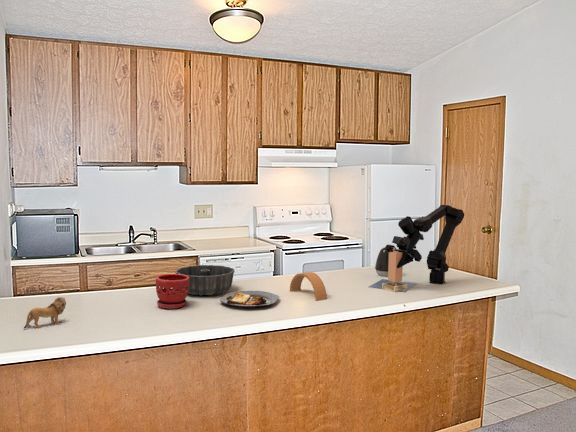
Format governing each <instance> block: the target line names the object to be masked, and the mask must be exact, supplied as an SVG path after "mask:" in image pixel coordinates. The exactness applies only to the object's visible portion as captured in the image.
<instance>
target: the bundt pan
mask: <svg viewBox="0 0 576 432" xmlns="http://www.w3.org/2000/svg"><path fill="white" fill-rule="evenodd" d="M174 272H175V273H174V274H181V275H186V276H188V277H189V290H188V294H187V295H192V296H198V295H199V296H201V297H202V296H203V295H205V296H211V295H214V296H217V295H219V294H223V293H225V292H227V291H229V290H230V289H231V288H232V285H233V281H234V280H233V279H234V274H235V273H236V272H235V268H233V267H230V266H225V265H220V264H219V265H217V264H216V265H214V264H207V265H206V264H195V265H188V266H182V267H179V268H177V269H175V271H174Z"/></svg>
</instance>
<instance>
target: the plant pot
mask: <svg viewBox="0 0 576 432" xmlns="http://www.w3.org/2000/svg"><path fill="white" fill-rule="evenodd" d="M188 290H189V277H188V276H186V275H181V274H176V273H168V274H159V275H156V277H155V291H156V295H157V298H158V300H157V301H156V304H157V305H158V306H159V307H160V308H162V309H169V310H170V309H172V310H173V309H178V308H181V307H184V306H186V304H187V302H188V301H187V299H186V298H187V296H188V295H189V294H188Z"/></svg>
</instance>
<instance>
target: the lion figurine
mask: <svg viewBox="0 0 576 432" xmlns="http://www.w3.org/2000/svg"><path fill="white" fill-rule="evenodd" d="M66 305H67V302H66V298H65V297H63V296H58V297H56V298H54V301H53V302H52V303H51V304H49V305H48V306H46V307H45V306H44V307H33V308H32V309H31V310H29V312H28V314H27V316H26V322H25V325H24V326H23V329H27V328H30V327H31V326H32V325H31V324H30V323H31V322H32V321H34V322H33V325H34V326H35V327H36V328H37V329H39V328H40V329H41V328H42V326H41V325H39V323H38V322H39V319H40V317H41V318H44V319H46V318H50V323H51V324H55V325H60V322H59V316H60V315H62V314H63V313H64V310H65V309H66Z"/></svg>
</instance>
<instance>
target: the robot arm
mask: <svg viewBox="0 0 576 432" xmlns="http://www.w3.org/2000/svg"><path fill="white" fill-rule="evenodd" d="M443 217H444V220H445V225H444V227H443V230H442V232H441V235H440V237H439V240H438V241H437V244H436V245H435V248H434V249H432V250H429V252H428V254H427V257H426V266H427V270H430V272H429V284H435V285H436V284H437V285H443V284H445V283H446V273H447V272H448V271H449V268H450V266H449V265H448V264H447V263H446V261H447V256H446V252H447V249H448V247H449V244H450V242H451V239H452V237H453V234H454V232H455V230H456V228H457V227H458V226H459V225H460V224H461V223H462V221H463V220H464V218H465V212H464V211H463V209H460V208H456V207H453V206H451V205H448V204H440V205H439V207H437V208H436V209H434V210H432V211H431V212H430V213H429V214H427V215H425V216H422V217H418V218H416V219H414V220H413V219H412V217H411V216H406V217H403V218H402V219H401V220H399V221H398V223H397V225H398V227H399V228H400V230H401V231H402V232H403V234H404V235H406V236H403V237H402V236H397V235H394V236H393V238H392V241H391V243H392V244H386V245H385V246H384V247H385V249H386V251H387V252H388V253H389V252H393V251H399V252H401V253H403V256H402V258H401V260H400V262H399V263H398V265H397V268H400V267H402V266H403V267H404V266H405V265H407V264H410V263H413V262H414V261H415V262H419V263H420V262H421V260H422V258H423V257H422V256H423V255H422V254H421V253H420V252H419V250H418V249H417V246H416V245H417V244H418V242H419V241H424V238H425V237H424V234H423V233H428V232H429V231H431V229H432V228H433V225H434V223H436V222H437V221H439V220H441V218H443ZM421 232H422V233H421ZM394 244H396V246H395V245H394Z"/></svg>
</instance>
